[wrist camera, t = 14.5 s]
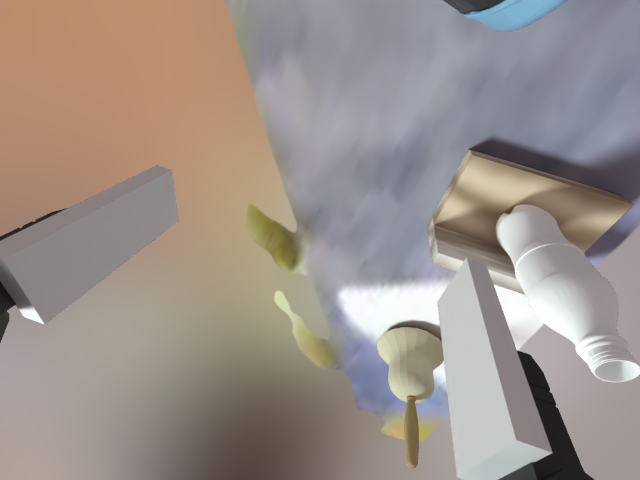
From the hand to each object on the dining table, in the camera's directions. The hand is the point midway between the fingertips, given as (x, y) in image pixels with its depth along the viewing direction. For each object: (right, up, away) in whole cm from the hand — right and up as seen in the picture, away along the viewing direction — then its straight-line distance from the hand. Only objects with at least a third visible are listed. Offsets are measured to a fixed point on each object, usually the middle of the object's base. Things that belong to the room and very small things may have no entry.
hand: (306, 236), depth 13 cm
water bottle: (+31, +3, +31) cm, 44 cm away
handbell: (+22, -25, +56) cm, 65 cm away
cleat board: (+32, +5, +32) cm, 46 cm away
